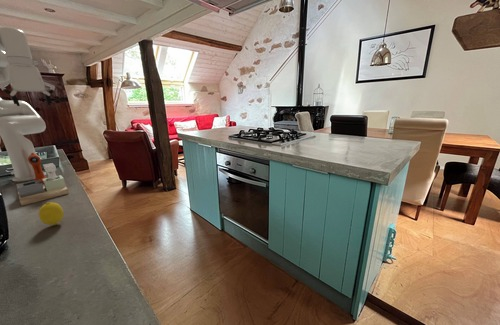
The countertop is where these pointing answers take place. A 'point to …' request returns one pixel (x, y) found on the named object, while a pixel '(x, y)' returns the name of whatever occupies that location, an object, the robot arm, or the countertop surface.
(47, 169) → the light grey block
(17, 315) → the countertop surface
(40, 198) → the board
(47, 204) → the lemon
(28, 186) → the block
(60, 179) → the pale green hollow frame
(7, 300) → the countertop surface
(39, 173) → the toy drill
